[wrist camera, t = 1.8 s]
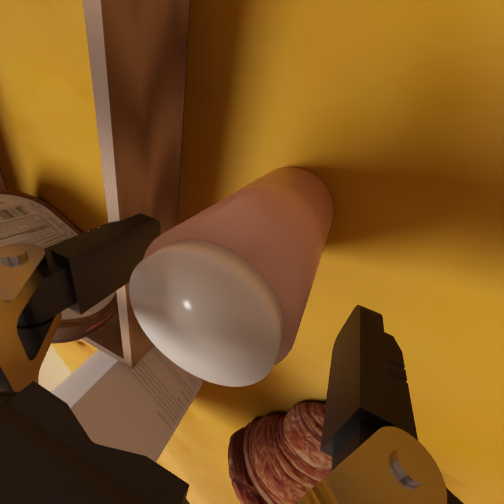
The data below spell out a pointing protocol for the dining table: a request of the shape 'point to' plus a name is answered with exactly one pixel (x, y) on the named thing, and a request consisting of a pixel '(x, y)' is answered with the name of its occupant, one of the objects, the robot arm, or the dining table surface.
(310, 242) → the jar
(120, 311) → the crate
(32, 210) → the tin
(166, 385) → the supplement box
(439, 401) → the dining table surface
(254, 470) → the pastry
